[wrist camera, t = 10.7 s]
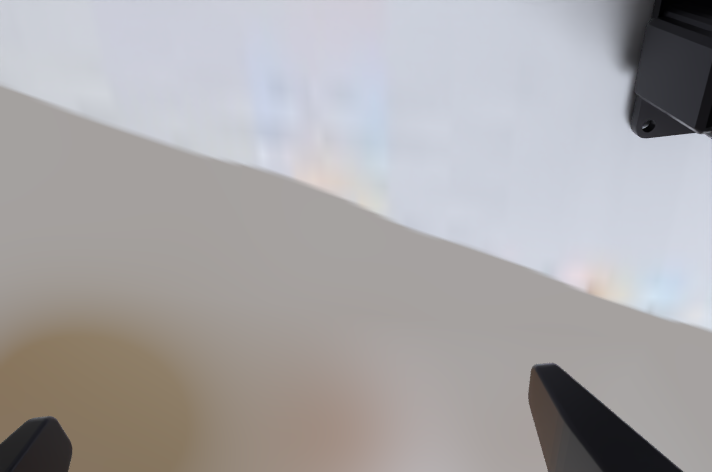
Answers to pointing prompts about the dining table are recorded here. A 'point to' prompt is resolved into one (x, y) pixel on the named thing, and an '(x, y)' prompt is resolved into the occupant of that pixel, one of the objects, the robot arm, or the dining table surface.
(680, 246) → the dining table surface
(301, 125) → the dining table surface
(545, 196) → the dining table surface
